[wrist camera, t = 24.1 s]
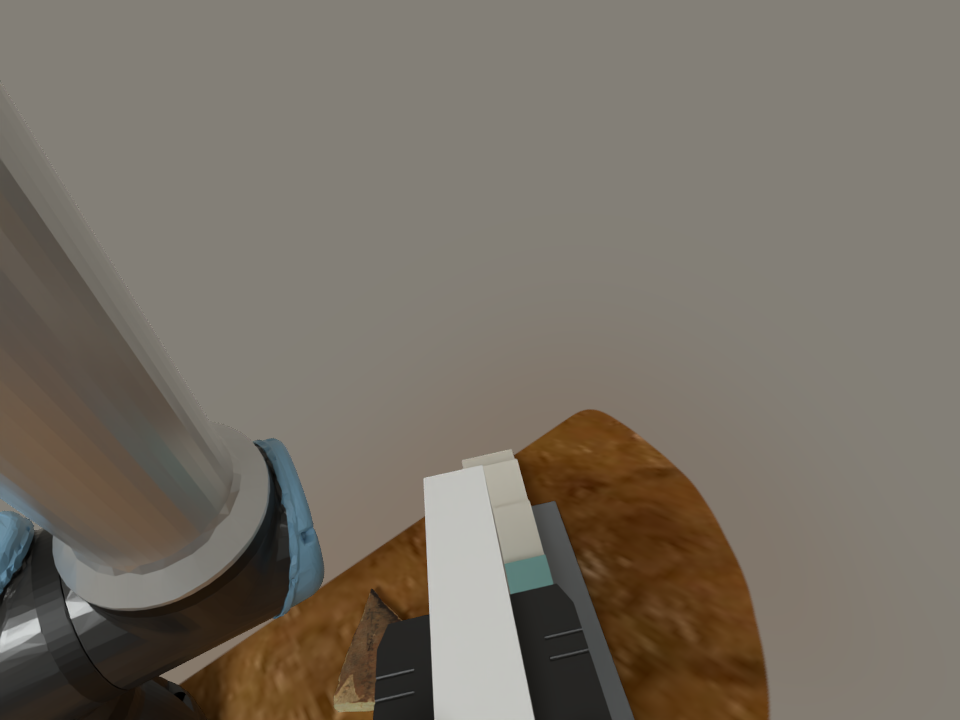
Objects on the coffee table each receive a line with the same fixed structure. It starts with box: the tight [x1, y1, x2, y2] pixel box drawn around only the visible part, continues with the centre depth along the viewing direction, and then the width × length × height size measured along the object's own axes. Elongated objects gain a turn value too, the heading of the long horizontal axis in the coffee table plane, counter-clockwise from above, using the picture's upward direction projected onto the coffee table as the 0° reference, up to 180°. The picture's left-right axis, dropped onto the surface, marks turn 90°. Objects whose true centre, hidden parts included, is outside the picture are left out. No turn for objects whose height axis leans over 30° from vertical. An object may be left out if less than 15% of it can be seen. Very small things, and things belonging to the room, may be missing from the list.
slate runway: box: [531, 501, 634, 720], centre depth 46 cm, size 12×28×1 cm, turn 8°
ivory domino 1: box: [462, 449, 514, 469], centre depth 60 cm, size 6×2×11 cm
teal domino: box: [504, 555, 553, 594], centre depth 42 cm, size 6×2×11 cm
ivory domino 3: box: [492, 500, 544, 564], centre depth 48 cm, size 6×2×11 cm
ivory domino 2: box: [483, 459, 528, 509], centre depth 54 cm, size 6×2×11 cm
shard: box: [334, 589, 402, 712], centre depth 47 cm, size 11×8×2 cm
